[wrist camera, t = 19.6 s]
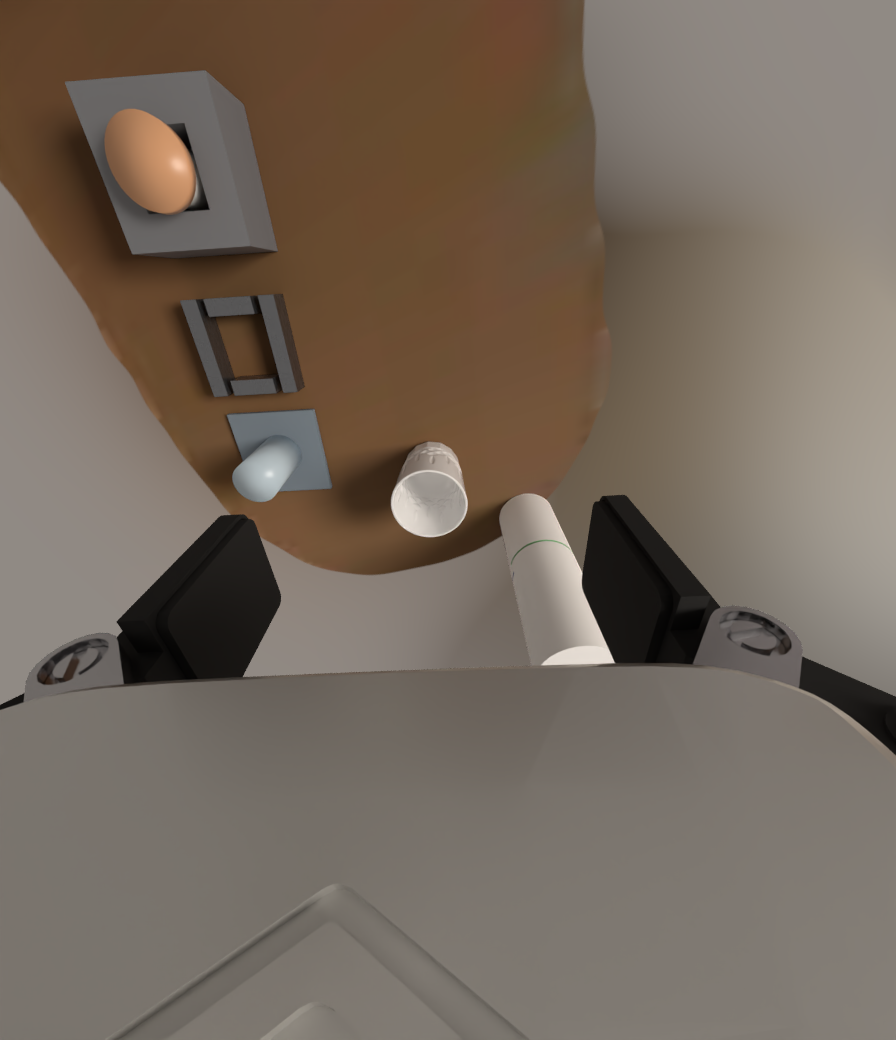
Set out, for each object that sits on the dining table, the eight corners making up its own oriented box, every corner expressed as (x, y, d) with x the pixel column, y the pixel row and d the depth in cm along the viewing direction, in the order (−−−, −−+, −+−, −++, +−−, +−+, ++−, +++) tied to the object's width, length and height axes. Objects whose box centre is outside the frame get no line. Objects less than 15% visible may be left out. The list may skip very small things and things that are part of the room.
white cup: (452, 501, 51) (453, 545, 43) (394, 485, 50) (383, 526, 42) (472, 447, 48) (478, 482, 39) (409, 428, 46) (401, 460, 38)
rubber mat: (229, 413, 45) (226, 414, 45) (314, 408, 45) (312, 410, 45) (255, 490, 50) (254, 492, 50) (332, 486, 50) (331, 488, 50)
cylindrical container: (498, 540, 55) (532, 705, 33) (499, 495, 51) (537, 647, 29) (550, 538, 54) (617, 702, 33) (554, 492, 51) (633, 643, 29)
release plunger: (150, 141, 32) (88, 111, 27) (217, 136, 32) (169, 105, 26) (178, 226, 35) (127, 215, 30) (240, 222, 35) (200, 210, 29)
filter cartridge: (259, 435, 46) (226, 463, 39) (297, 435, 46) (271, 462, 39) (268, 470, 48) (239, 501, 42) (304, 470, 48) (281, 501, 42)
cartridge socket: (194, 299, 39) (180, 300, 37) (282, 294, 39) (273, 294, 37) (225, 391, 44) (214, 396, 42) (304, 386, 44) (297, 391, 42)
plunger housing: (125, 113, 32) (64, 81, 27) (243, 104, 32) (205, 70, 27) (175, 258, 38) (132, 254, 32) (277, 251, 37) (250, 246, 32)
